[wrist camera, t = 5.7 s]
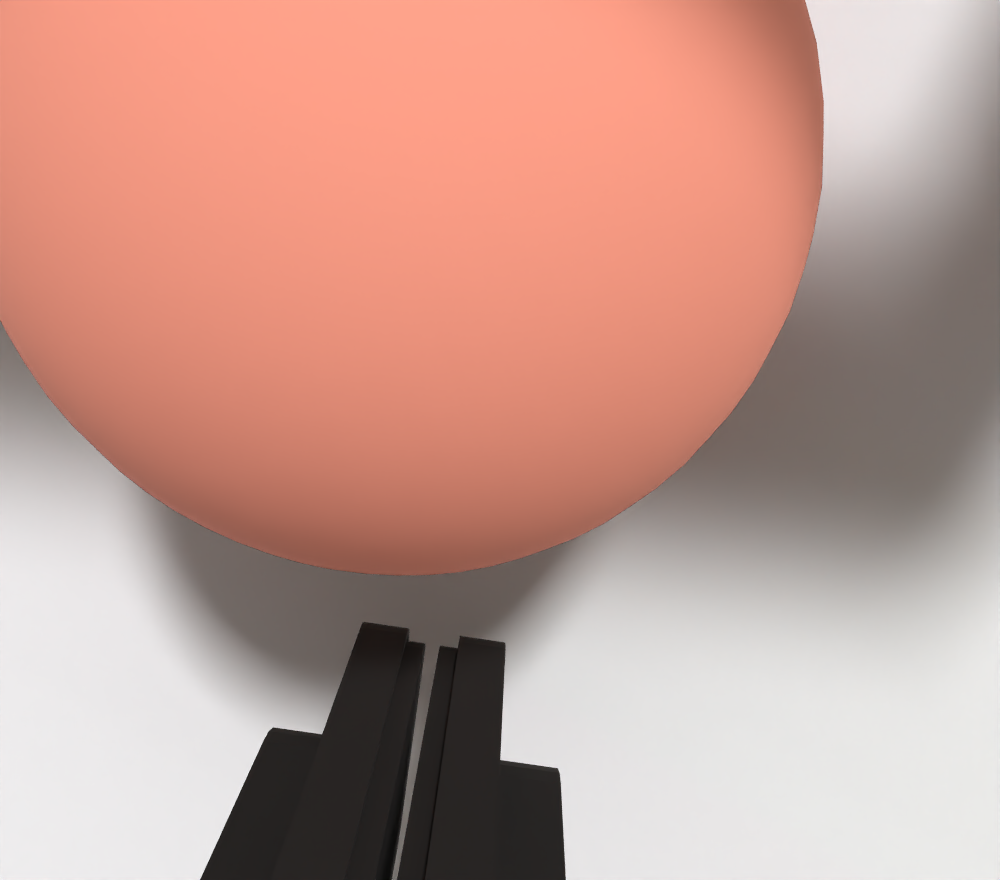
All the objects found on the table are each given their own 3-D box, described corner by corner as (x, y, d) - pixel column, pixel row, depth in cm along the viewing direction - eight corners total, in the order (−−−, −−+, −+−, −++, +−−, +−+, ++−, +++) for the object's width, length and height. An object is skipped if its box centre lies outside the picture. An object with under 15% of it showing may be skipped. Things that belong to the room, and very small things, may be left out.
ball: (1311, -327, 2) (815, -401, 6) (-849, -209, 2) (36, -353, 7) (797, 740, 6) (707, 276, 11) (40, 714, 7) (240, 278, 11)
